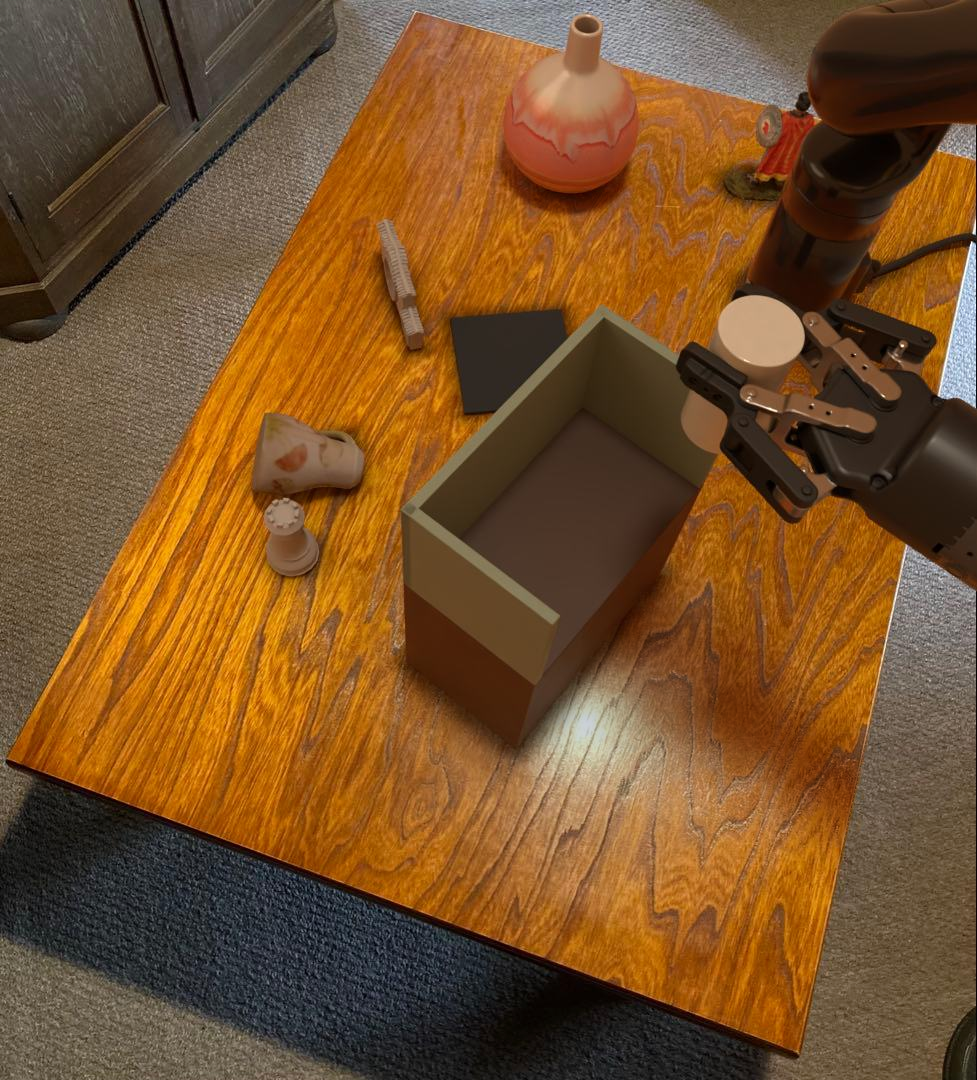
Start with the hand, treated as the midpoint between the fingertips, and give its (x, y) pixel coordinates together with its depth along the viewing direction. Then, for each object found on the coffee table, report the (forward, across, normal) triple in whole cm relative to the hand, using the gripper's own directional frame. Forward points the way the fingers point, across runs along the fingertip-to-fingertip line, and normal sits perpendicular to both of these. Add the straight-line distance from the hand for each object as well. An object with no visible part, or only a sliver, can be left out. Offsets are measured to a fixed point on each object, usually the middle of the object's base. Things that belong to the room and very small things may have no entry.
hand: (710, 326), depth 59 cm
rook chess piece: (+23, +14, +38) cm, 47 cm away
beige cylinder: (-3, 0, +7) cm, 7 cm away
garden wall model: (+34, -12, +38) cm, 52 cm away
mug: (+27, +8, +38) cm, 47 cm away
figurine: (+15, -50, +38) cm, 64 cm away
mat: (+21, -14, +38) cm, 45 cm away
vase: (+32, -37, +38) cm, 62 cm away
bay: (+3, +5, +38) cm, 38 cm away
